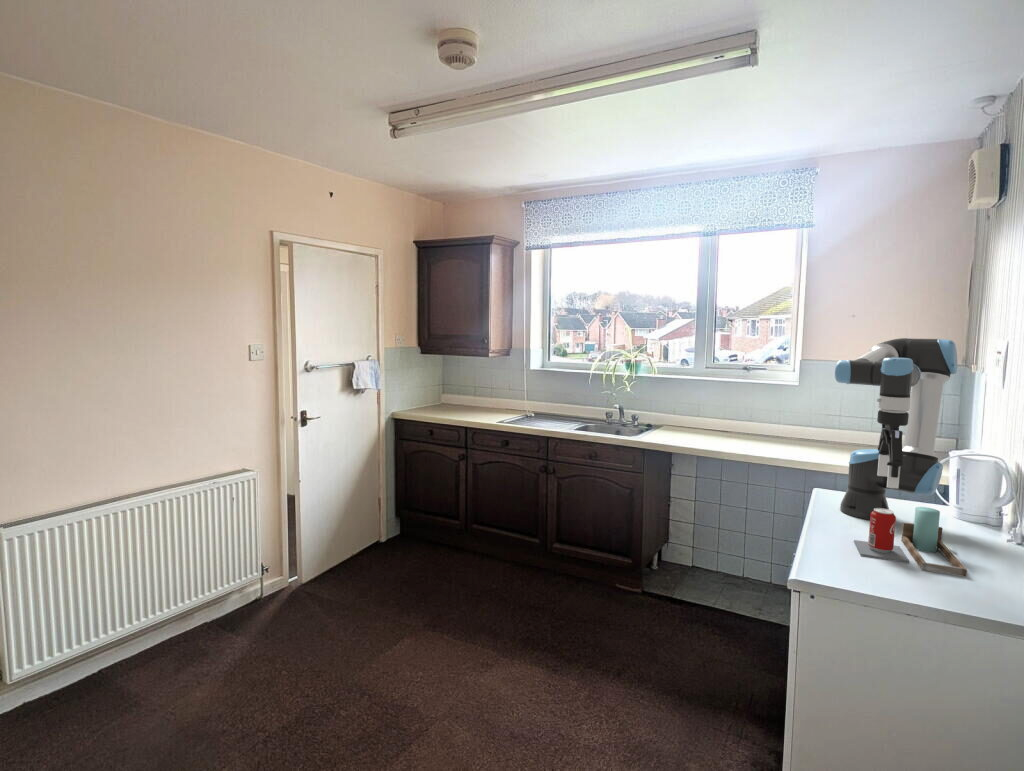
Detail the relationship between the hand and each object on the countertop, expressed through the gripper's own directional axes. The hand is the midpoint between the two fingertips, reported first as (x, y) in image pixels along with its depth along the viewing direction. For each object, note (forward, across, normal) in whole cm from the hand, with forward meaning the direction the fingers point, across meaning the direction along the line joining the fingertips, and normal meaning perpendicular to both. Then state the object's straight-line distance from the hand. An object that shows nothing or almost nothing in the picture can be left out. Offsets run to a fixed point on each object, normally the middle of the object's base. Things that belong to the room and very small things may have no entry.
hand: (887, 481), depth 170 cm
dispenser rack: (+21, 0, +12) cm, 25 cm away
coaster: (+21, +2, -1) cm, 21 cm away
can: (+21, -7, +12) cm, 26 cm away
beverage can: (+21, +1, -1) cm, 21 cm away
